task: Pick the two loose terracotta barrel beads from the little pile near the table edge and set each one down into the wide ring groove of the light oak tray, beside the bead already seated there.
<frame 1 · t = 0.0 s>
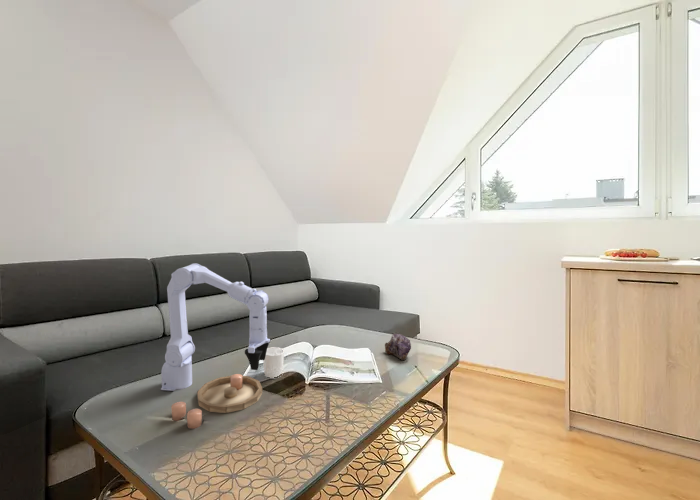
hand: (258, 364, 131), 10 cm above the table, fingers open, 7 cm apart
ring tray: (230, 397, 128), on the table
rock: (398, 355, 167), on the table
bead b: (194, 424, 112), on the table
white cup: (273, 376, 144), on the table
bead c: (236, 387, 133), point 1 cm above the table, touching ring tray
bead a: (179, 417, 116), on the table
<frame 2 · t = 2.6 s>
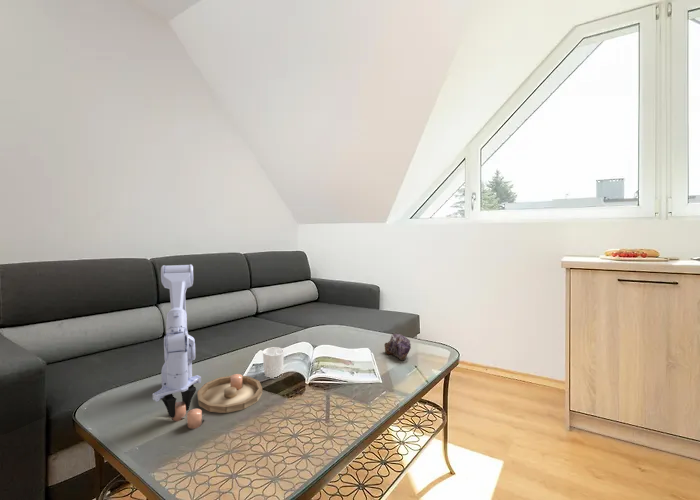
hand: (178, 412, 116), 1 cm above the table, fingers closed on bead a, 4 cm apart
bead a: (179, 417, 116), on the table, touching gripper
everything else where it was.
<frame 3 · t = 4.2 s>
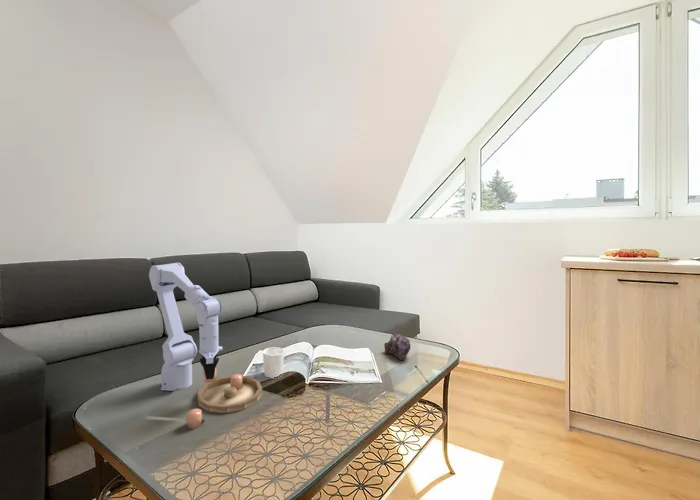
hand: (209, 375, 123), 9 cm above the table, fingers closed on bead a, 4 cm apart
bead a: (210, 379, 123), point 8 cm above the table, touching gripper
everything else where it was.
when the fingers open (3 cm above the table, at t = 5.9 s): bead a drops 1 cm, resting on ring tray.
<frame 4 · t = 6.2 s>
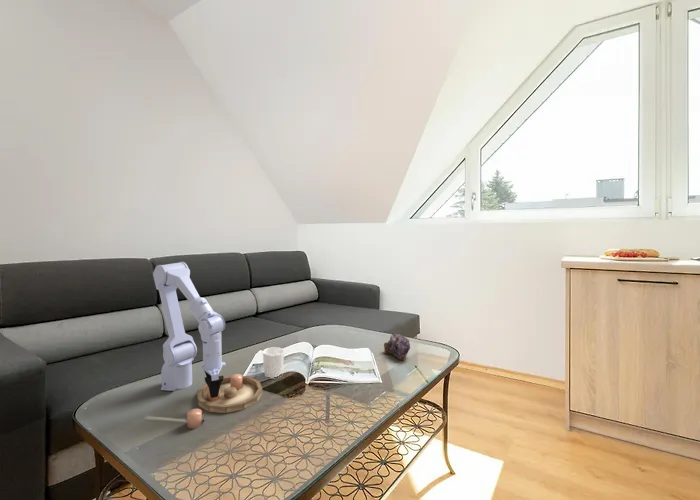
hand: (213, 391, 125), 3 cm above the table, fingers open, 7 cm apart
bead a: (213, 398, 125), point 1 cm above the table, touching ring tray
everything else where it was.
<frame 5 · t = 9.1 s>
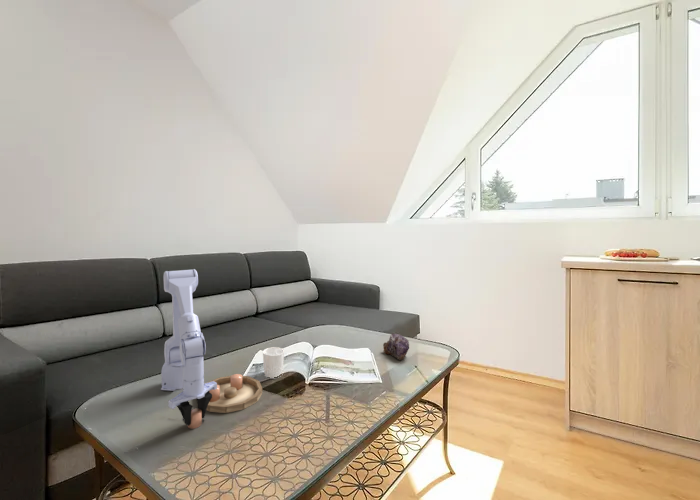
hand: (194, 420, 112), 1 cm above the table, fingers closed on bead b, 4 cm apart
bead b: (194, 424, 112), on the table, touching gripper
everything else where it was.
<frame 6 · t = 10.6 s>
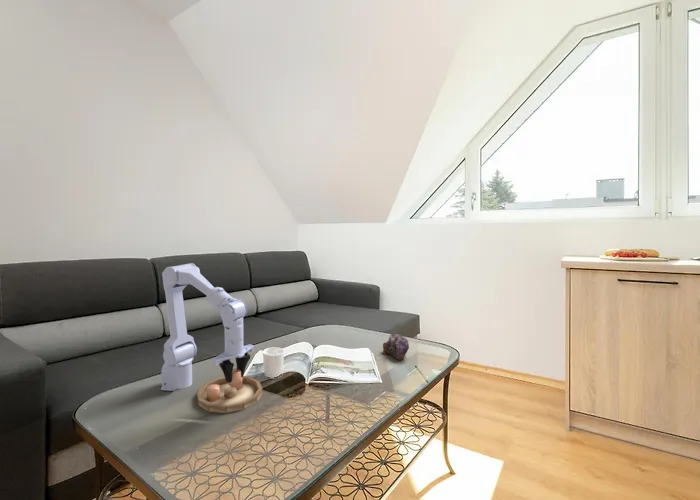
hand: (234, 378, 121), 9 cm above the table, fingers closed on bead b, 4 cm apart
bead b: (234, 383, 122), point 8 cm above the table, touching gripper
everything else where it was.
when the fingers open (3 cm above the table, at t = 12.3 s): bead b drops 1 cm, resting on ring tray.
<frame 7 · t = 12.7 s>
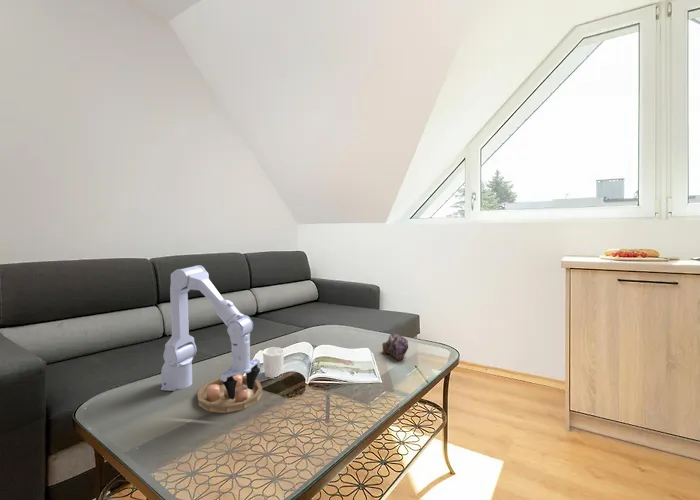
hand: (241, 393, 124), 3 cm above the table, fingers open, 7 cm apart
bead b: (241, 400, 125), point 1 cm above the table, touching ring tray
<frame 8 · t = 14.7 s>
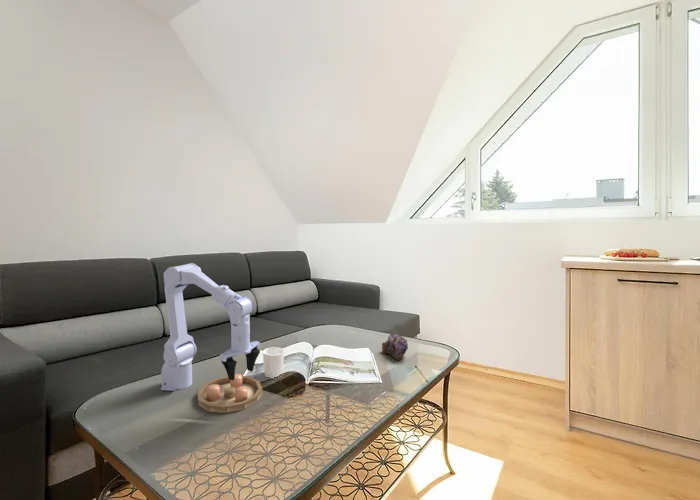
hand: (240, 374, 123), 10 cm above the table, fingers open, 7 cm apart
at the end: bead a 0.1 cm from the target spot, point 0.8 cm above the table; bead b 0.1 cm from the target spot, point 0.8 cm above the table; bead c 0.0 cm from the target spot, point 0.8 cm above the table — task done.
